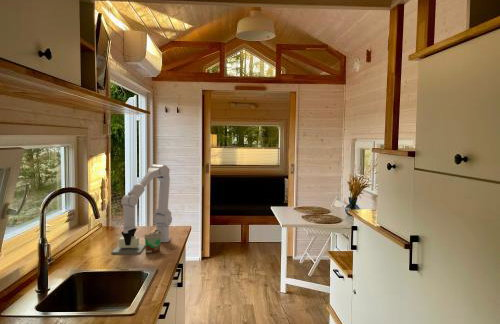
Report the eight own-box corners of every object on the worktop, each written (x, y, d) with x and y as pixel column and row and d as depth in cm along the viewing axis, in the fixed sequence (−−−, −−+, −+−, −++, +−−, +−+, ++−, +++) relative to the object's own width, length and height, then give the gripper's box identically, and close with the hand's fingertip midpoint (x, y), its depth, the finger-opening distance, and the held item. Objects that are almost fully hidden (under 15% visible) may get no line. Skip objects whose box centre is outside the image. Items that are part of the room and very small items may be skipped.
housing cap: (121, 245, 195) (121, 236, 195) (138, 245, 196) (138, 236, 196) (118, 247, 190) (118, 239, 190) (136, 247, 191) (136, 239, 191)
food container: (155, 255, 185) (155, 235, 185) (144, 254, 186) (144, 235, 186) (166, 248, 197) (166, 230, 197) (155, 247, 199) (155, 229, 198)
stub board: (119, 246, 200) (119, 241, 200) (145, 246, 201) (145, 241, 201) (111, 254, 186) (111, 248, 186) (139, 254, 187) (139, 248, 187)
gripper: (125, 215, 199) (125, 240, 200) (117, 220, 185) (117, 247, 186) (138, 215, 200) (138, 240, 201) (131, 220, 186) (131, 247, 186)
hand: (129, 243), depth 193 cm, fingers closed on housing cap, 5 cm apart
